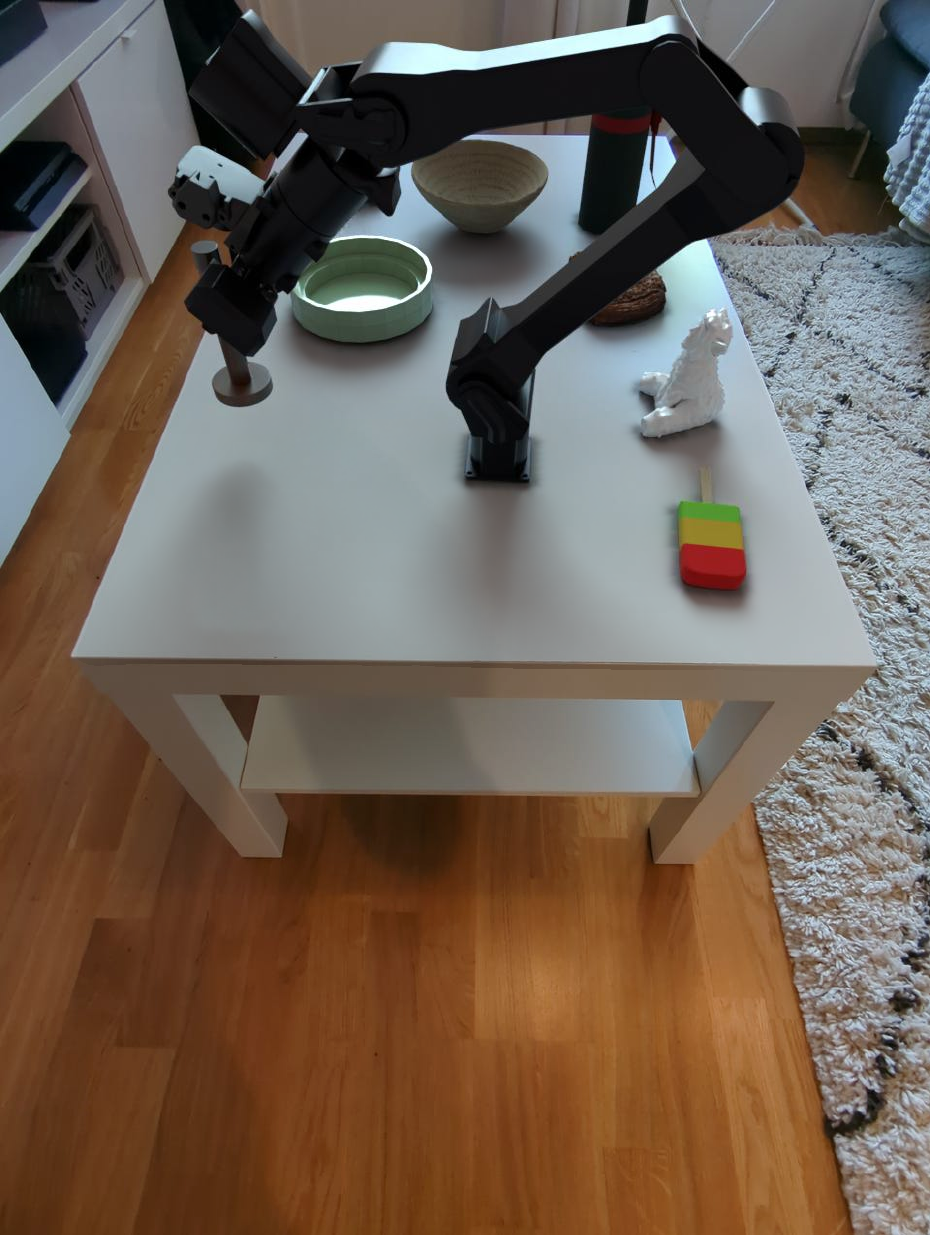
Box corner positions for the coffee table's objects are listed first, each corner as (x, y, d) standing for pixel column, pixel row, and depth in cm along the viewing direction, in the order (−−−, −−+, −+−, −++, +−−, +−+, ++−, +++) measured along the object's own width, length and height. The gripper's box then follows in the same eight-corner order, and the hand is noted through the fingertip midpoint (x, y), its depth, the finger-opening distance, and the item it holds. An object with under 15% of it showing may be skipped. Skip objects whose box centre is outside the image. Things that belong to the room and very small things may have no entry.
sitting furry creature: (636, 383, 84) (659, 280, 74) (715, 389, 83) (748, 286, 73) (639, 439, 78) (664, 335, 68) (723, 445, 77) (760, 342, 68)
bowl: (566, 246, 102) (573, 184, 95) (440, 272, 98) (438, 209, 91) (512, 188, 112) (515, 128, 105) (395, 209, 108) (391, 149, 101)
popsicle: (679, 586, 66) (684, 573, 65) (674, 471, 75) (679, 457, 74) (743, 593, 66) (749, 580, 64) (730, 477, 75) (736, 463, 73)
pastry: (631, 268, 98) (639, 222, 94) (674, 317, 92) (686, 270, 87) (554, 282, 96) (558, 236, 92) (592, 333, 89) (600, 286, 85)
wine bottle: (654, 235, 103) (712, -49, 79) (581, 236, 103) (617, -48, 79) (644, 208, 108) (696, -68, 84) (574, 209, 108) (606, -67, 84)
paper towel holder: (258, 411, 71) (220, 268, 60) (205, 402, 72) (156, 259, 60) (282, 376, 74) (249, 234, 63) (230, 368, 75) (189, 226, 64)
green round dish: (425, 350, 87) (423, 314, 84) (280, 343, 88) (272, 308, 84) (439, 272, 98) (438, 238, 94) (309, 267, 98) (303, 233, 95)
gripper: (258, 68, 59) (168, 204, 69) (171, 172, 48) (79, 317, 58) (366, 180, 65) (269, 291, 75) (310, 297, 54) (205, 409, 63)
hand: (211, 322), depth 67 cm, fingers closed on paper towel holder
